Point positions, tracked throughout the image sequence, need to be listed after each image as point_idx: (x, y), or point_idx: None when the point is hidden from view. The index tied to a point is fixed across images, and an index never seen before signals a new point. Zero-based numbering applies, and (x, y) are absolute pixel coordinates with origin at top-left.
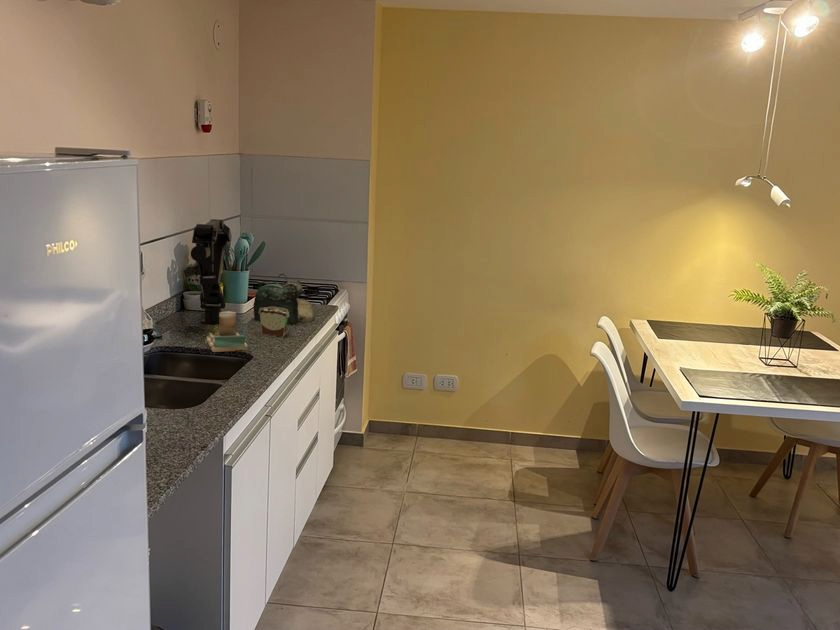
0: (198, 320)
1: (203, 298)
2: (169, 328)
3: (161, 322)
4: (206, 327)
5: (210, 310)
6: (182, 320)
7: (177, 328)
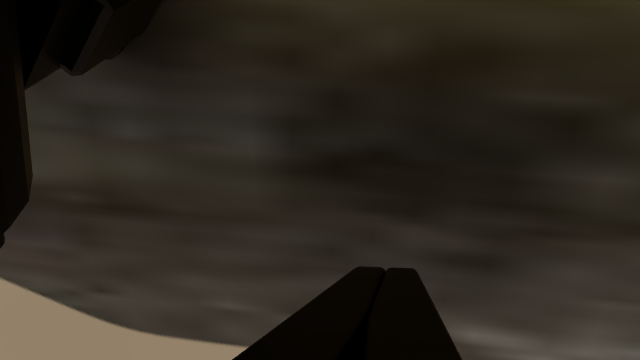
0: None
1: (5, 212)
2: None
3: (172, 337)
4: (340, 12)
5: (75, 5)
6: (77, 206)
7: None
